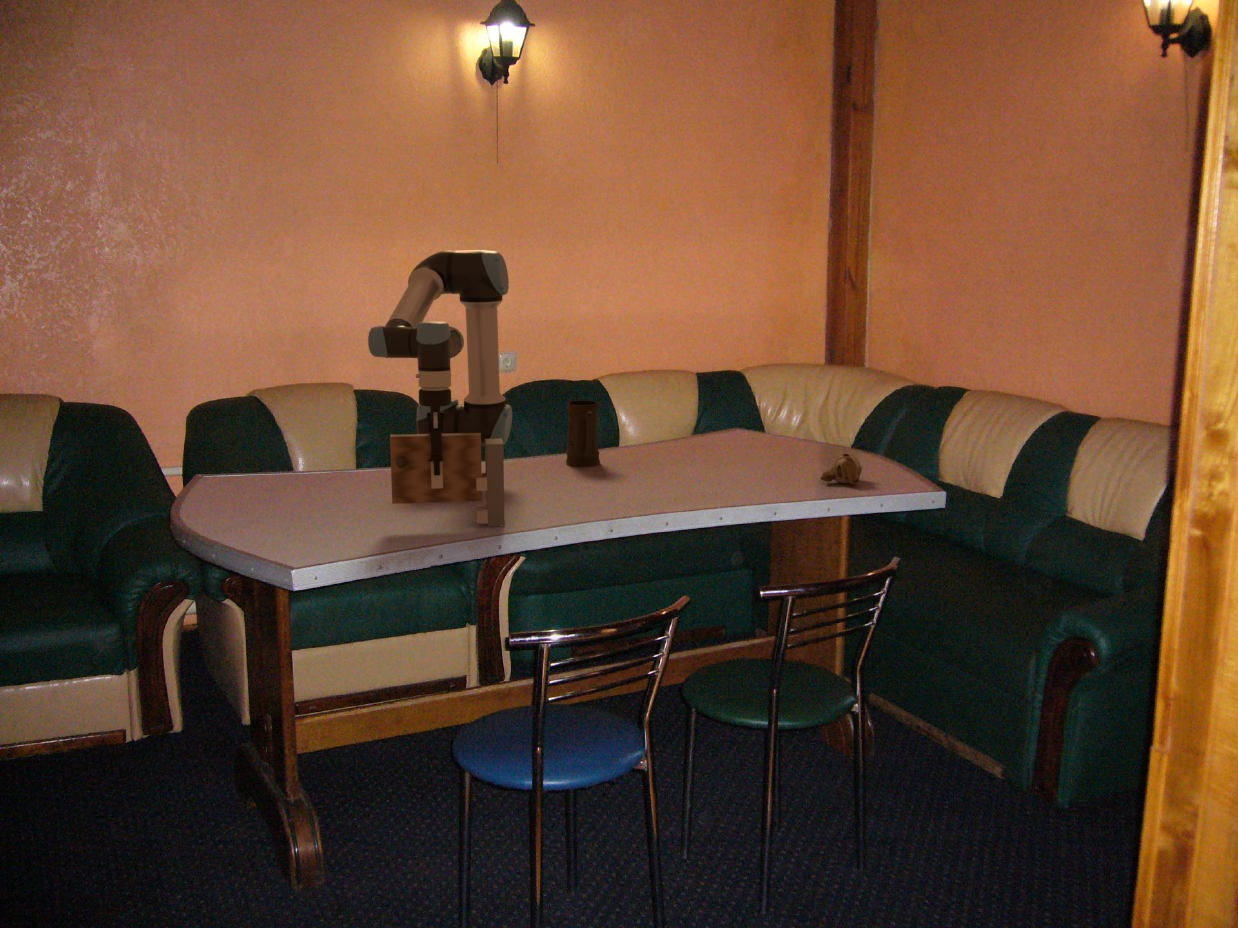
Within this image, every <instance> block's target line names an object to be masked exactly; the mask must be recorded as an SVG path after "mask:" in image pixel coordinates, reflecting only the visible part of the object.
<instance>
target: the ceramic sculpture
mask: <svg viewBox="0 0 1238 928" xmlns="http://www.w3.org/2000/svg"><path fill="white" fill-rule="evenodd" d="M862 471H863V467H862V465H861V462H860V461H859V460H858V458H857V457H856V456H855V455H854V454H853V453H851V454H848V453H843V454H842V455H841V456H840V457H839V458H838V459H836V460H835V461H834V462H833V464H832V465H831V468H830V469H826V470H825V471H824V472H823V473H822V476H821V477H820V480H821V481H824V482H828V483H829V482H832V481H833V480H834V481H835V482H837V483H838V484H845V485H846V484H851V485H855V484H857V483H858V482H859V480H860V476H861V473H862Z"/></svg>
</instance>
